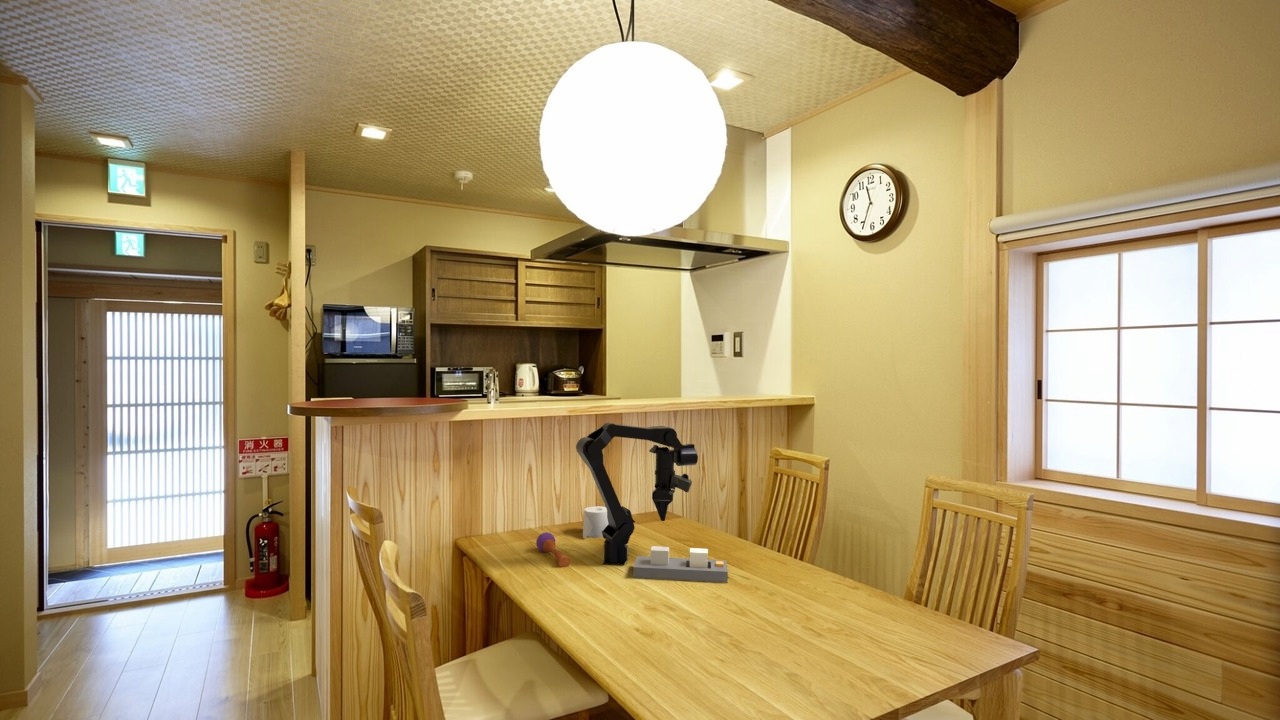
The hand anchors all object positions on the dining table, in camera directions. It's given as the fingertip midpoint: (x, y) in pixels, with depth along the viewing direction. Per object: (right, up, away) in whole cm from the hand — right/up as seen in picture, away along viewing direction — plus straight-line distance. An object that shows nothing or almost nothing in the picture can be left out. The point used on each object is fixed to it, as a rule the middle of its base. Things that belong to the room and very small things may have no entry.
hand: (663, 517), depth 193 cm
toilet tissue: (-23, -12, +22) cm, 34 cm away
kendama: (-34, -12, -3) cm, 36 cm away
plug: (+9, -12, -17) cm, 23 cm away
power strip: (+4, -12, -17) cm, 21 cm away
